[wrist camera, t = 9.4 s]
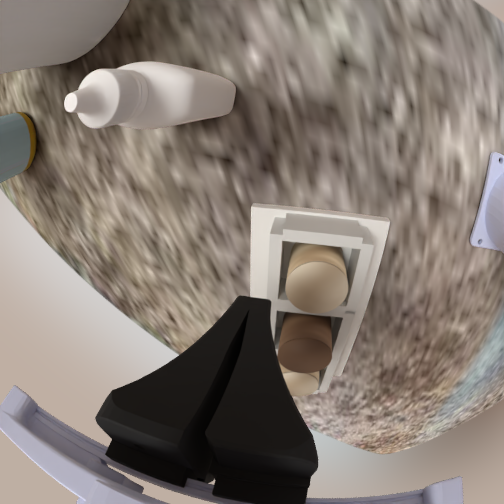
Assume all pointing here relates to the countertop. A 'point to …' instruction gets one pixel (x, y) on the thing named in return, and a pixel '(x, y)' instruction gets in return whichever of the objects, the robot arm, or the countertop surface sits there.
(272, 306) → the white compartment tray
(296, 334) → the walnut plug
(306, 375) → the maple plug
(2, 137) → the bottle
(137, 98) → the eye dropper bottle
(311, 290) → the maple plug
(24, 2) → the utensil holder
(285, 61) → the countertop surface
